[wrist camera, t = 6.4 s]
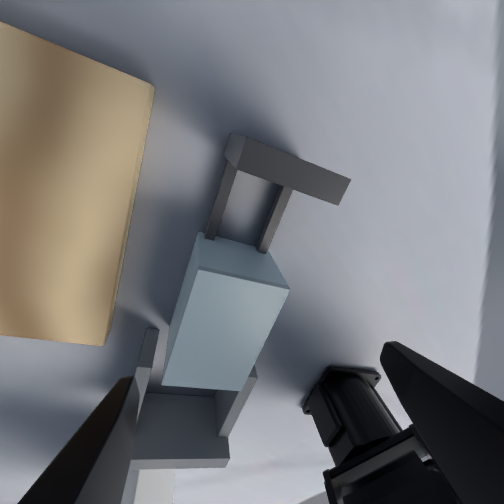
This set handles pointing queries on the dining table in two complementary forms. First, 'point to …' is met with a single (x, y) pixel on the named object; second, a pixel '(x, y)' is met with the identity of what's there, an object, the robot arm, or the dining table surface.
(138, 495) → the milk carton
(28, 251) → the board
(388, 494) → the robot arm
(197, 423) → the bay
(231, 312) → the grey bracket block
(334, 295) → the dining table surface
